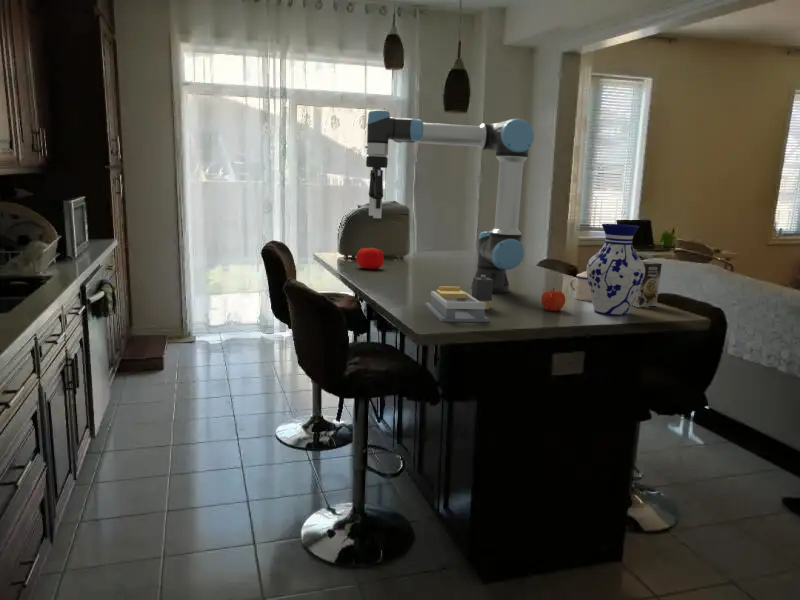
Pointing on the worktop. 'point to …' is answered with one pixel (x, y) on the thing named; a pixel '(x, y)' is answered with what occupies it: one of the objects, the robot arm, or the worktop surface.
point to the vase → (615, 271)
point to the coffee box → (649, 286)
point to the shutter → (451, 292)
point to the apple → (553, 300)
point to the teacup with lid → (581, 287)
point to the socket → (457, 309)
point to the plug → (482, 289)
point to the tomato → (370, 258)
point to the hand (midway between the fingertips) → (374, 216)
